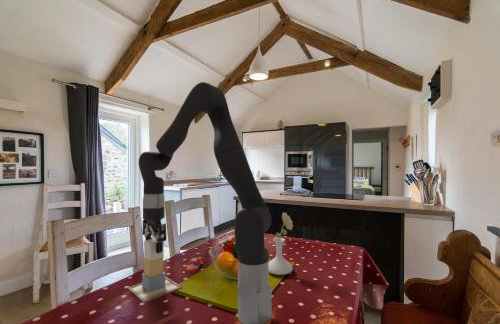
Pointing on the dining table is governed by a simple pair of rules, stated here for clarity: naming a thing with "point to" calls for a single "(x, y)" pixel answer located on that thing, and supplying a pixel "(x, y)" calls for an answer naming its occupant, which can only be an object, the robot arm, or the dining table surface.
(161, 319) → the dining table surface
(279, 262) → the flower in vase
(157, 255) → the cream brick
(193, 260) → the race car
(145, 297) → the build plate
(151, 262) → the ochre brick
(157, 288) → the base brick
